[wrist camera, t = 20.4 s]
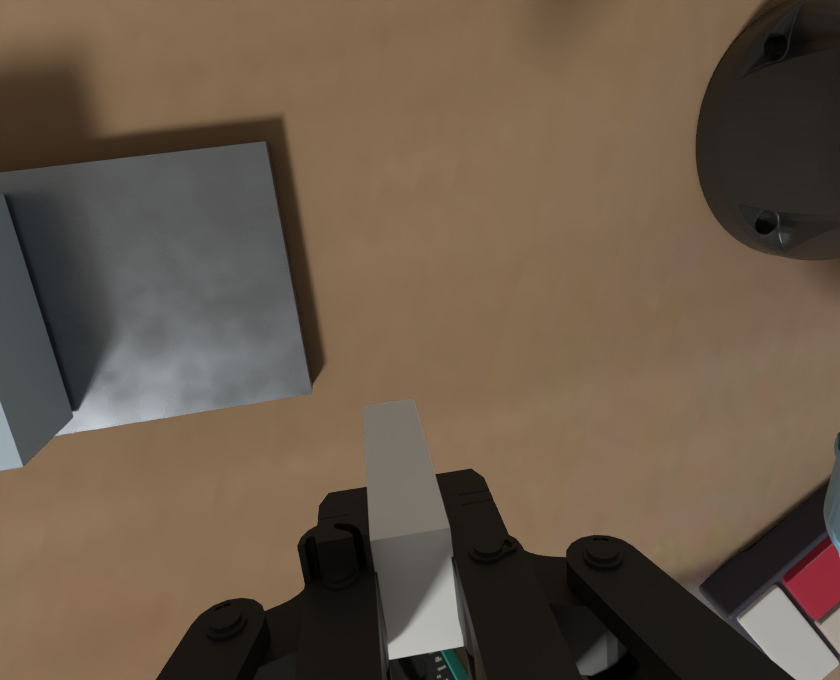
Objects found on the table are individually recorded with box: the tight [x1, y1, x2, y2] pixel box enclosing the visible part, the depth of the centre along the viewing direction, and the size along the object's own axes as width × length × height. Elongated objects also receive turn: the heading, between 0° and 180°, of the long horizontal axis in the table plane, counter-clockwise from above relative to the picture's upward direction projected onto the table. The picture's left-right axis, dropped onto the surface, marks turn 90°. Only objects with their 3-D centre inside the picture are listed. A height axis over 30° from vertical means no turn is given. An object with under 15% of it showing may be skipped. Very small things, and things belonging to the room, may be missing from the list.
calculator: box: [699, 483, 840, 680], centre depth 45 cm, size 11×4×15 cm
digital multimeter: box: [389, 648, 469, 680], centre depth 42 cm, size 7×15×3 cm, turn 23°
